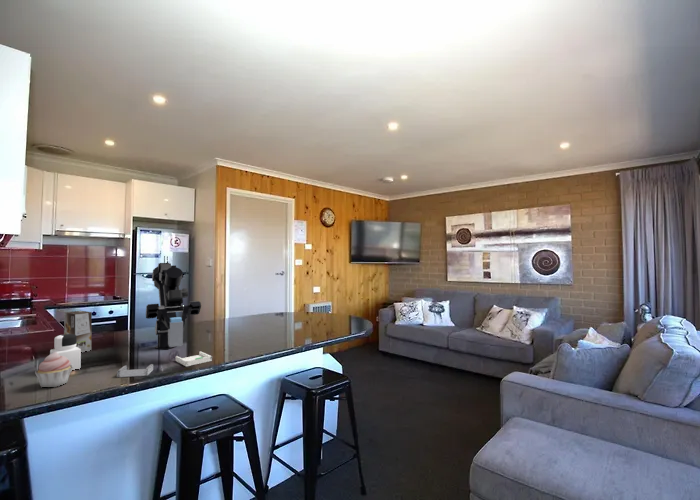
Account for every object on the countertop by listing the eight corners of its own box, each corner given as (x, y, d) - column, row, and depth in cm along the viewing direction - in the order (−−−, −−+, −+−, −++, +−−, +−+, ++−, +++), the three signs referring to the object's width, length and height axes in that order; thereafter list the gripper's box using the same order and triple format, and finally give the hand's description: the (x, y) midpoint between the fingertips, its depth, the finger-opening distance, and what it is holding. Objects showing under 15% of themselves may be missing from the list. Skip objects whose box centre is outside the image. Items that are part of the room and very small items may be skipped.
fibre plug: (168, 344, 135) (168, 317, 135) (180, 342, 138) (181, 316, 138) (169, 347, 132) (170, 319, 132) (182, 345, 134) (183, 318, 134)
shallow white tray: (124, 371, 123) (124, 365, 123) (153, 369, 125) (153, 364, 125) (116, 377, 117) (116, 371, 117) (147, 375, 119) (147, 369, 119)
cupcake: (81, 379, 115) (81, 348, 115) (55, 390, 106) (56, 356, 106) (53, 379, 115) (53, 347, 116) (25, 390, 106) (25, 356, 106)
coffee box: (92, 350, 149) (92, 311, 149) (74, 354, 144) (75, 314, 144) (80, 347, 154) (80, 310, 154) (62, 351, 148) (63, 312, 148)
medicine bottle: (74, 365, 130) (75, 331, 130) (80, 369, 125) (81, 334, 125) (49, 370, 124) (50, 335, 124) (54, 374, 120) (55, 338, 120)
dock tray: (175, 360, 136) (175, 355, 136) (200, 355, 143) (200, 350, 143) (186, 366, 129) (186, 360, 129) (211, 360, 136) (212, 355, 136)
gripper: (146, 282, 133) (149, 317, 124) (200, 280, 143) (206, 312, 134) (144, 301, 139) (146, 335, 130) (196, 298, 150) (201, 329, 141)
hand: (176, 327), depth 134 cm, fingers closed on fibre plug, 4 cm apart
